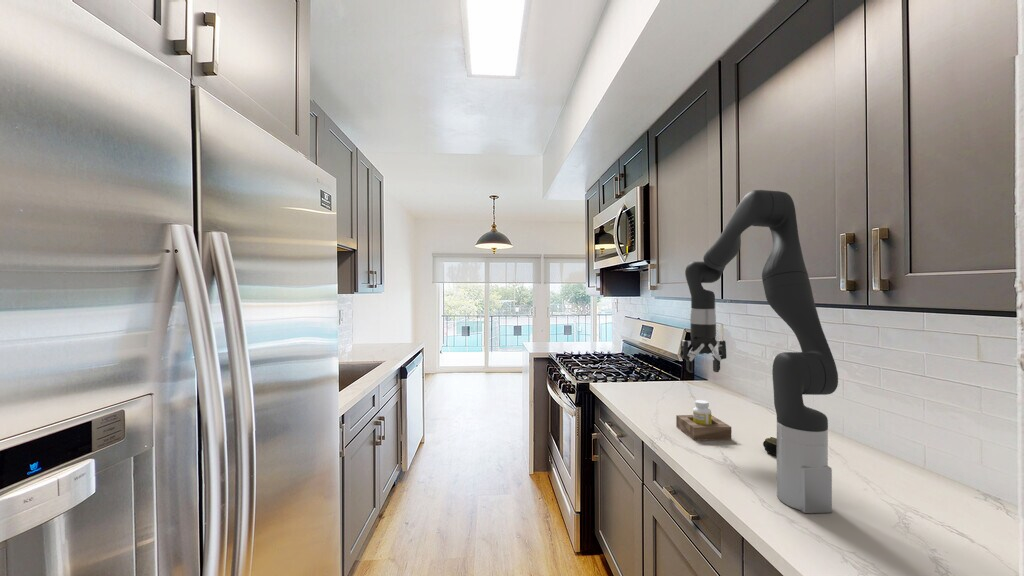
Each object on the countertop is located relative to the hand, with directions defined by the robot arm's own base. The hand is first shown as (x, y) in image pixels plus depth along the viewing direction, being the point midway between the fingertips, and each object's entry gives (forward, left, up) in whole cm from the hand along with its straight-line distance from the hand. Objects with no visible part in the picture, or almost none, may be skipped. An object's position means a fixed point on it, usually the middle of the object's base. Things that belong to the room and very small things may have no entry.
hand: (703, 372), depth 130 cm
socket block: (0, 0, -20) cm, 20 cm away
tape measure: (-16, -13, -20) cm, 29 cm away
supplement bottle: (0, 0, -20) cm, 20 cm away
